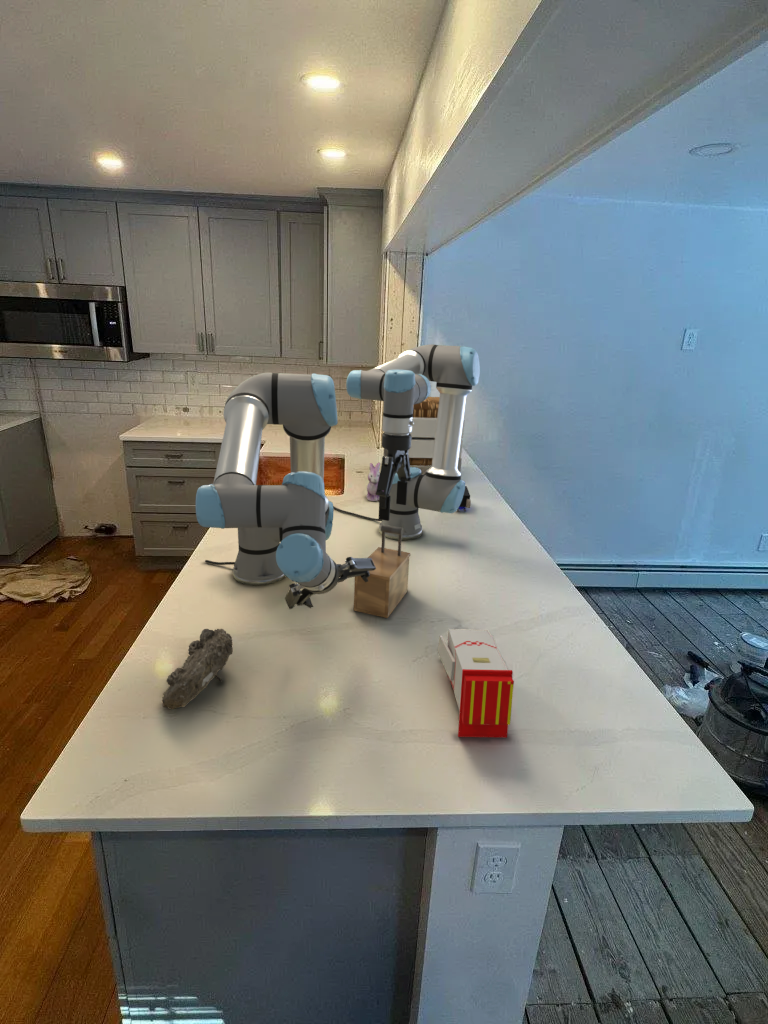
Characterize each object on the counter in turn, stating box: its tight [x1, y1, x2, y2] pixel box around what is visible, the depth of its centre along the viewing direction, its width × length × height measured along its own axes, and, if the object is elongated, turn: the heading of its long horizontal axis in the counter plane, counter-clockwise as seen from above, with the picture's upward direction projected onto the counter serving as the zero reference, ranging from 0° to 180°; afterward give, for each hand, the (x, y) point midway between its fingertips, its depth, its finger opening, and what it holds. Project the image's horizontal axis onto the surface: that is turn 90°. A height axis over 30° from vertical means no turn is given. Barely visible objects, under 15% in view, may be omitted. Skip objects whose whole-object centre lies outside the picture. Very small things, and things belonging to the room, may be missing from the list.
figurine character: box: [456, 485, 472, 513], centre depth 228 cm, size 7×8×15 cm
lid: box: [367, 524, 412, 581], centre depth 149 cm, size 17×10×9 cm, turn 159°
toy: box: [437, 628, 515, 738], centre depth 117 cm, size 12×13×30 cm
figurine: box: [365, 462, 381, 502], centre depth 233 cm, size 9×10×15 cm
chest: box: [353, 556, 411, 619], centre depth 152 cm, size 16×10×11 cm, turn 159°
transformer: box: [383, 396, 465, 474], centre depth 268 cm, size 34×33×41 cm
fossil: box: [161, 628, 234, 710], centre depth 117 cm, size 22×10×15 cm
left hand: (337, 589), depth 128 cm, fingers open, 13 cm apart
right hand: (392, 511), depth 151 cm, fingers open, 13 cm apart
